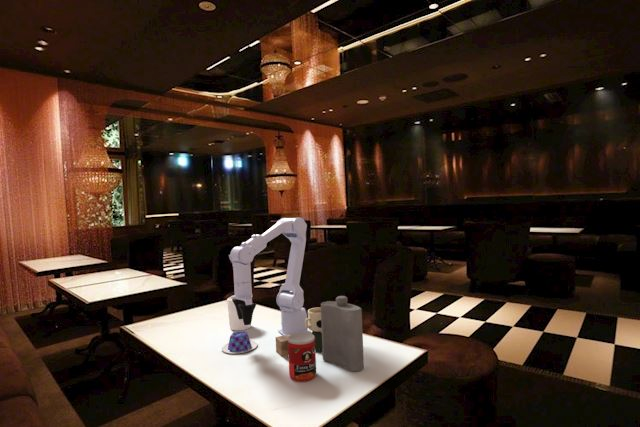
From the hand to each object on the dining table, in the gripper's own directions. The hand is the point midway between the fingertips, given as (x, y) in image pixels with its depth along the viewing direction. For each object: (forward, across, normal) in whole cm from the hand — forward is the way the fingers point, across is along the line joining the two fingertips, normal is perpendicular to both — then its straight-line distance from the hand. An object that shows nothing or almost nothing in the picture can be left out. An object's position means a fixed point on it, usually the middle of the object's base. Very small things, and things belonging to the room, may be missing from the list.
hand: (244, 321), depth 123 cm
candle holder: (+10, -25, +4) cm, 28 cm away
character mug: (+10, +12, +22) cm, 27 cm away
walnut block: (+10, +10, +11) cm, 18 cm away
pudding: (+10, -3, -1) cm, 11 cm away
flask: (+10, +26, +23) cm, 36 cm away
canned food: (+10, +28, +9) cm, 31 cm away
